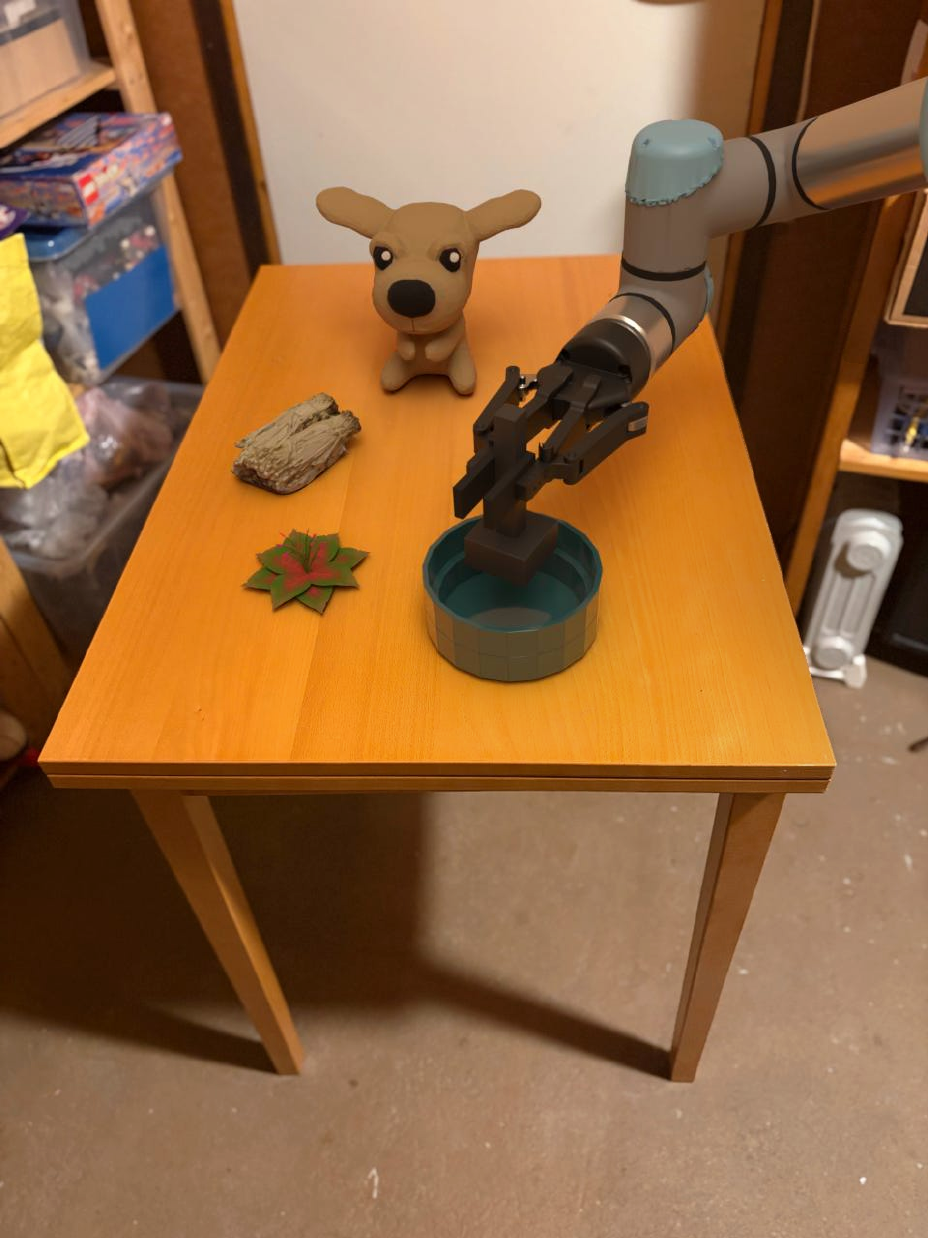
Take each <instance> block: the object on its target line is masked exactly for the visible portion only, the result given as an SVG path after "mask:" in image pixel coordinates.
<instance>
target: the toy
mask: <svg viewBox="0 0 928 1238" xmlns="http://www.w3.org/2000/svg"><path fill="white" fill-rule="evenodd" d="M315 207H316V208H317V211H318V213H319V214H320V215H321V216H322V217H323V219H324V220H326V221H327V222H329V223H331V224H333V225H337V226H339V227H340V226H341V227H343V228H347V229H350V230H352V231H353V232H355V233H357V234H358V235H360V236H362V237H365V238H367V239H370V242H369V245H368V249H369V250H368V251H369V254H370V256H371V259H372V261H373V265H374V278H373V286H372V290H371V298H372V303H373V307H374V309H375V311H376V313H377V315H378V316H379V317H380V318H381V320H382V321H383V322H384V323H385V324H386V325H387V326H389V327H390V328H392V329H394V330H396V350H395V351H394V352H393V353H392V354H391V356H390V357H389V358H388V359H387V361H386V362H385V363H384V365H383V368H382V371H381V373H380V381H379V382H380V386H381V387H382V388H383V389H385V390H386V391H391V392H392V391H396V390H398V389H400V388H402V387H403V386H404V385H405V384H406V383H407V382H408V381H410V380H411V379H413V378H414V377H417V376H421V375H442V376H447V377H449V379H450V383H451V384H452V386H453V388H454V389H455V390H456V392H457V393H459V394H460V395H470V394H472V393H474V391H475V388H476V384H477V376H478V374H477V368H476V364H475V361H474V359H473V356H472V353H471V350H470V347H469V344H468V343H469V342H468V337H467V327H466V318H465V315H464V308H465V307H466V305H467V303H468V300H469V298H470V296H471V294H472V289H473V282H474V281H473V279H474V272H475V268H476V267H475V266H476V262H477V258H478V255H479V250H480V245H481V243H482V242H485V241H487V240H489V239H491V238H493V237H495V236H496V235H499V234H501V233H503V232H506V231H509V230H514V229H520V228H521V227H524V226H526V225H527V224H529V223H530V222H532V221H533V219H535V217H536V216H537V215H538V213H539V212H540V210H541V208H542V198H541V197H540V195H539V194H537V193H536V192H534V191H533V190H528V189H522V188H521V189H515V190H513V191H511V192H508V193H506V194H504V195H501V196H497V197H493V198H492V197H491V198H490V199H487V200H486V201H484V202H482V203H479V204H478V205H477V206H474V207H473V208H470V209H467V210H464V209H462V208H460V207H459V206H456V205H454V204H450V203H446V202H439V201H438V202H436V201H423V202H412V203H408V204H404V205H402V206H400V207H398V208H397V209H393V208H391V207H390V206H388V205H387V204H386V203H384V202H382V201H380V200H378V199H376V198H375V197H372V196H371V195H365V194H361V193H359V192H357V191H355V190H354V189H352V188H349V187H345V186H333V187H328V188H325V189H322V190H321V191H319V192H318V194H317V195H316V198H315Z"/></svg>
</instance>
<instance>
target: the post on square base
mask: <svg viewBox="0 0 928 1238" xmlns="http://www.w3.org/2000/svg"><path fill="white" fill-rule="evenodd" d="M493 422H494V461H495V484H496V483H497V482H498V481H499V480H500V479H501V478H502V477H503V476H504V475H505V473H506V472H507V471H508V470H509V469H510V468H511V467H512V466H513V465H514V464H515V463H516V462H517V461H518V460H519V459H520V458H521V457H522V455H523V454H524V453H525V452H526V451H528V450H527V449H528V448H527V445H528V443H527V409H524V408H522V407H521V406H519V407H518V406H514V405H511V404H508V403H505V404H504V405H503V406H502V407H501V408H500V409H499V410H498V411H497V412H496V413H495V414H494V415H493ZM538 513H539V512H536V513H535V511H532V510H529V509H527V502H525V501H522V500H519V501H518V502H517V503H516V505H515V506H514V507H513V508H512V509H511V510H510V511H509V512H508V514H507V515H506V516H505V517H504V518H503V519H502V520H501V522H500V523H499V524H498V525H497V526H496V527H495V528H494V529H493V530H490V529H487V528H484V521H483V518H482V519H481V520H480V521H479V522H478V523H477V524H476V526H475V527H474V528H473V529H472V530H471V531H470V532H469V533H468V534H467V535H466V537H465V538H464V546H465V563H466V566H469V567H471V568H474V569H477V570H479V571H482V572H484V573H487V574H490V575H492V576H495V577H498V578H500V579H503V580H505V581H508V582H511V583H513V584H516V585H518V586H521V587H524V588H525V587H526V585H527V584H528V583H529V582H530V580H531V579H532V578H533V577H534V575H535V574H536V573H537V572H538V570H539V569H540V568H541V567H542V565H543V564H544V563H545V562H546V561H547V559H548V558H549V557H550V556H551V554H552V553H553V552H554V551H555V549H556V548H557V529H558V520H555V519H553V518H550V517H547V516H544V515H541V514H538Z"/></svg>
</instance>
